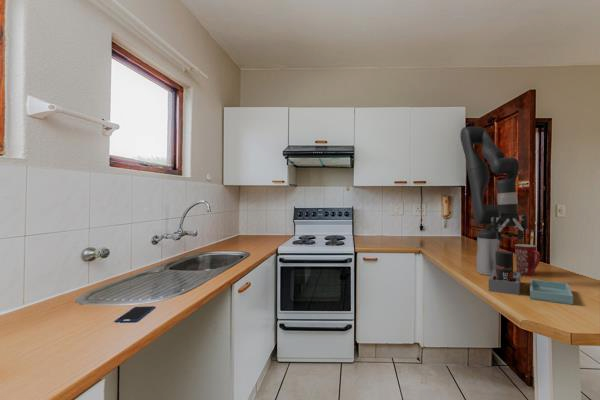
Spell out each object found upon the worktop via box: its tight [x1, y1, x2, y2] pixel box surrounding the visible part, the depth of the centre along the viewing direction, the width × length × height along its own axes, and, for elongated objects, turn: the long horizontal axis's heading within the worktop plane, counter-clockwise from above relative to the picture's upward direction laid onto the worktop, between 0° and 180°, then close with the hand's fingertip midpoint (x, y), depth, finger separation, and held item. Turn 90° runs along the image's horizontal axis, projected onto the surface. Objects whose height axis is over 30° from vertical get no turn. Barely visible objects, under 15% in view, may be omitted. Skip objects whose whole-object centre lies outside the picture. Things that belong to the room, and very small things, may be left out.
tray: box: [529, 278, 574, 306], centre depth 122 cm, size 20×12×3 cm, turn 144°
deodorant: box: [495, 250, 514, 282], centre depth 129 cm, size 6×6×15 cm
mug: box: [513, 243, 541, 276], centre depth 155 cm, size 13×9×14 cm
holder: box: [488, 270, 522, 296], centre depth 134 cm, size 21×10×4 cm, turn 144°
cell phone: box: [113, 305, 156, 324], centre depth 105 cm, size 7×14×1 cm, turn 1°
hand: (509, 239), depth 142 cm, fingers open, 8 cm apart
